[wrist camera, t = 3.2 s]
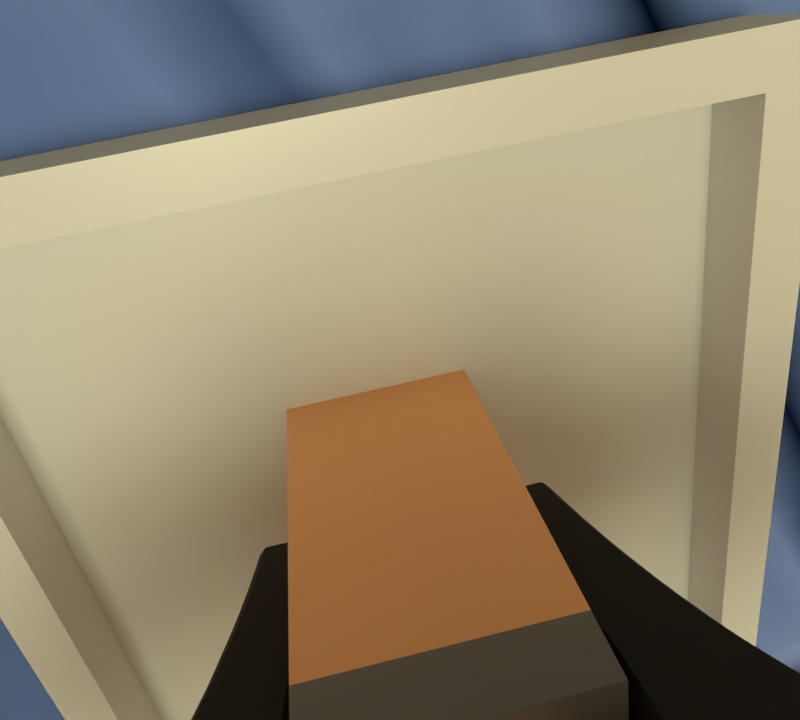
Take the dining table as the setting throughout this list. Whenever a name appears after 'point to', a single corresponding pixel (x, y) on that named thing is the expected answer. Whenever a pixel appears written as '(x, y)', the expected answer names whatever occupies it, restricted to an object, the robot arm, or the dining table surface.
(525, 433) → the tray
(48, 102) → the dining table surface
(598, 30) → the dining table surface
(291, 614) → the plug
